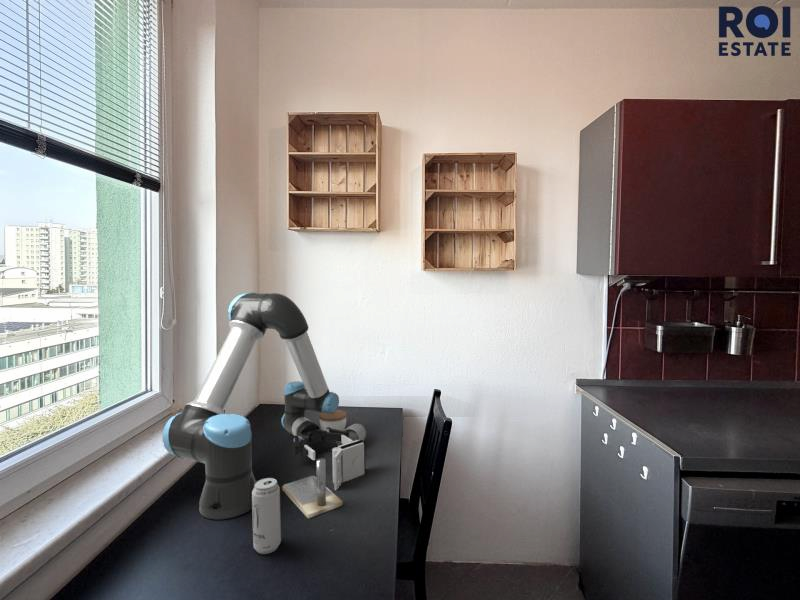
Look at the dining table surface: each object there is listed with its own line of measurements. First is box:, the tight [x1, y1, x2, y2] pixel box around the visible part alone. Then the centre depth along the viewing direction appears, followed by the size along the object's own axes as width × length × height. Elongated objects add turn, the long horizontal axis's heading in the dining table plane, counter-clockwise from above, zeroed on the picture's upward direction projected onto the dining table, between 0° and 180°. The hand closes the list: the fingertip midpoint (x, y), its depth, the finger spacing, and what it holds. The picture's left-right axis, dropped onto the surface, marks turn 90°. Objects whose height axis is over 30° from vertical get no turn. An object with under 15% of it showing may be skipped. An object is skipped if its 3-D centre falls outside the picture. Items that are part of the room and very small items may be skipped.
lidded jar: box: [318, 409, 348, 431], centre depth 161 cm, size 11×11×9 cm
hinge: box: [331, 440, 367, 491], centre depth 124 cm, size 14×5×10 cm, turn 143°
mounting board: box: [281, 475, 344, 519], centre depth 114 cm, size 10×18×1 cm, turn 37°
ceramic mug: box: [335, 423, 367, 446], centre depth 149 cm, size 11×8×8 cm
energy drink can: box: [251, 477, 282, 555], centre depth 92 cm, size 6×6×15 cm
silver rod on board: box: [283, 457, 333, 506], centre depth 114 cm, size 9×17×12 cm, turn 37°
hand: (333, 450), depth 131 cm, fingers open, 13 cm apart
